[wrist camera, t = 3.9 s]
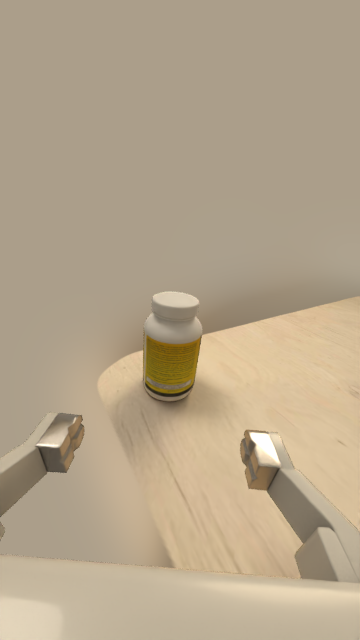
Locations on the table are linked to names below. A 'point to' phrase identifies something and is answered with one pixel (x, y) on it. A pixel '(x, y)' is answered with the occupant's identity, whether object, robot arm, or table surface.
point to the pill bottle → (171, 346)
